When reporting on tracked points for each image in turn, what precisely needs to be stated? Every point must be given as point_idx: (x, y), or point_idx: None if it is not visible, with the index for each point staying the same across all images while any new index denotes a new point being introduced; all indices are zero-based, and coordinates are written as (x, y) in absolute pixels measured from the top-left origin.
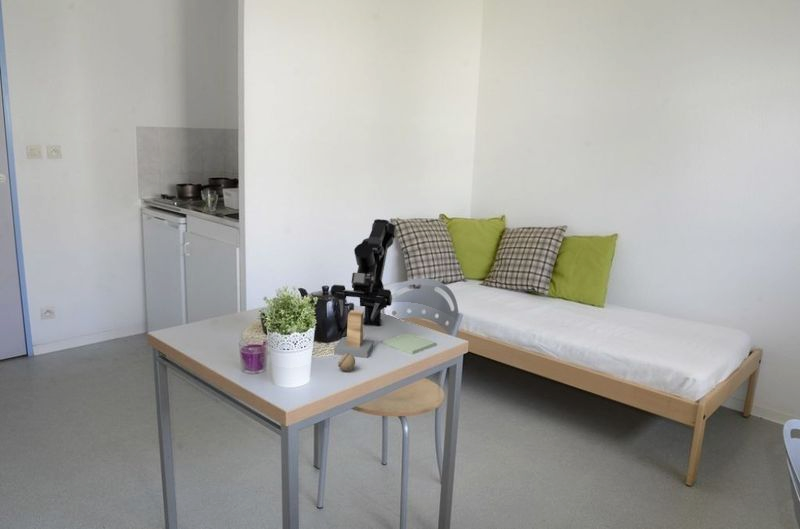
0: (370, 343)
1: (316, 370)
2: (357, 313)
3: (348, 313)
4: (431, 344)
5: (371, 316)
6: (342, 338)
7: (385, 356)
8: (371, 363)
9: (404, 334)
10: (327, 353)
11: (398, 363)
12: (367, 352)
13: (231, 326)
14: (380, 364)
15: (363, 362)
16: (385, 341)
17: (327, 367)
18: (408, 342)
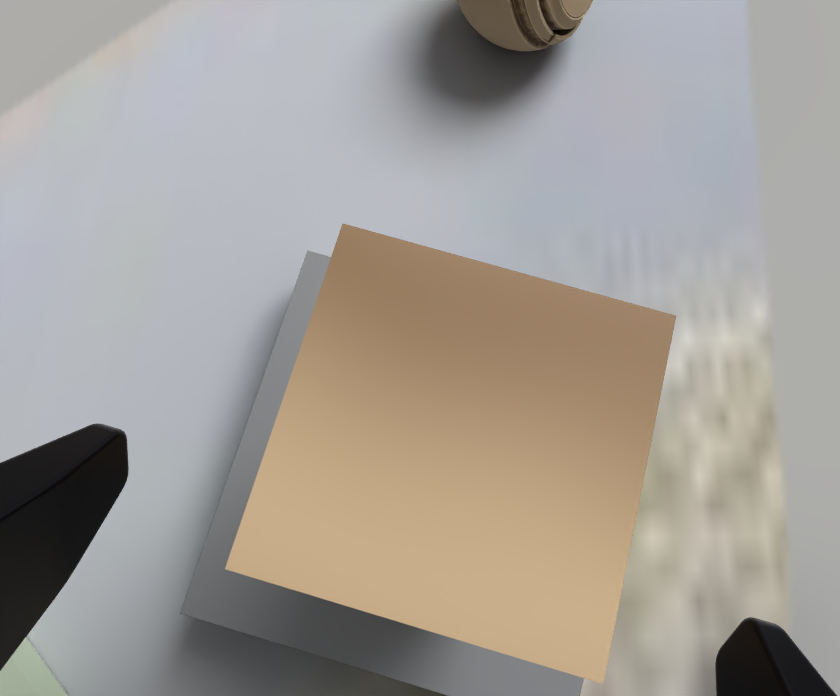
0: (238, 501)
1: (745, 22)
2: (424, 357)
3: (662, 347)
4: None
5: (72, 460)
6: (570, 682)
7: (132, 315)
8: (293, 152)
9: None
10: (692, 387)
11: (51, 152)
12: (307, 262)
13: None
14: (217, 131)
15: (361, 174)
16: (30, 691)
17: (665, 75)
18: None
